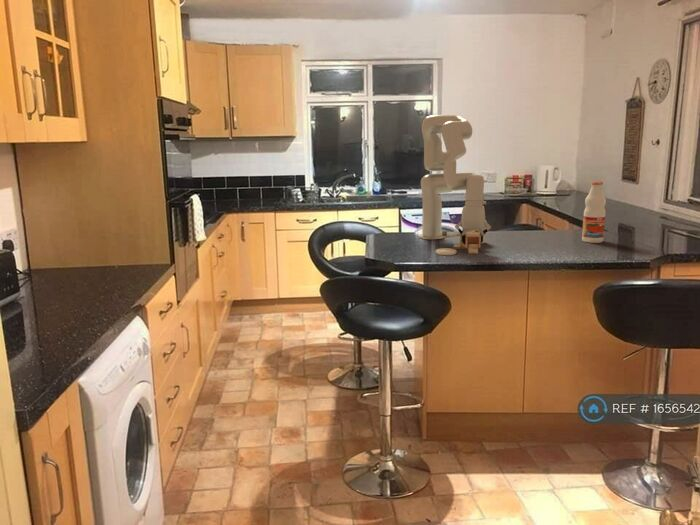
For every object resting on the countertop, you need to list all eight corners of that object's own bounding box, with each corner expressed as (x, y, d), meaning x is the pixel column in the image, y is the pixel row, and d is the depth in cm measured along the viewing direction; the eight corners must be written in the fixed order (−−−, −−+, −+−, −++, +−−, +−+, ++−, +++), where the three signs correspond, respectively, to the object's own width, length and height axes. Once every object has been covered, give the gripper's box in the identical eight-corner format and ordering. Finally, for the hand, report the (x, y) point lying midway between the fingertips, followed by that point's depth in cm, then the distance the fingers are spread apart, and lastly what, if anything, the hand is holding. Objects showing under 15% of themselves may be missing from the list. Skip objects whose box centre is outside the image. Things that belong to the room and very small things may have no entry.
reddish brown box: (463, 244, 261) (464, 232, 260) (478, 244, 260) (478, 232, 259) (465, 247, 255) (466, 235, 253) (480, 247, 254) (480, 235, 253)
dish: (435, 250, 261) (435, 248, 261) (455, 250, 260) (455, 248, 260) (436, 255, 252) (436, 252, 252) (457, 255, 252) (457, 252, 251)
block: (467, 251, 260) (468, 242, 259) (476, 251, 259) (477, 242, 258) (468, 253, 256) (469, 244, 255) (478, 253, 255) (478, 244, 254)
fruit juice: (597, 239, 280) (602, 180, 273) (606, 242, 271) (611, 182, 264) (578, 239, 280) (582, 181, 273) (586, 243, 271) (591, 183, 264)
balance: (438, 246, 270) (439, 228, 268) (482, 246, 268) (483, 228, 266) (439, 249, 265) (440, 230, 263) (484, 248, 263) (485, 230, 261)
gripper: (492, 202, 256) (490, 242, 260) (453, 202, 257) (451, 241, 262) (495, 205, 248) (493, 245, 253) (454, 205, 250) (453, 245, 254)
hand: (472, 243), depth 257 cm, fingers closed on reddish brown box, 6 cm apart
